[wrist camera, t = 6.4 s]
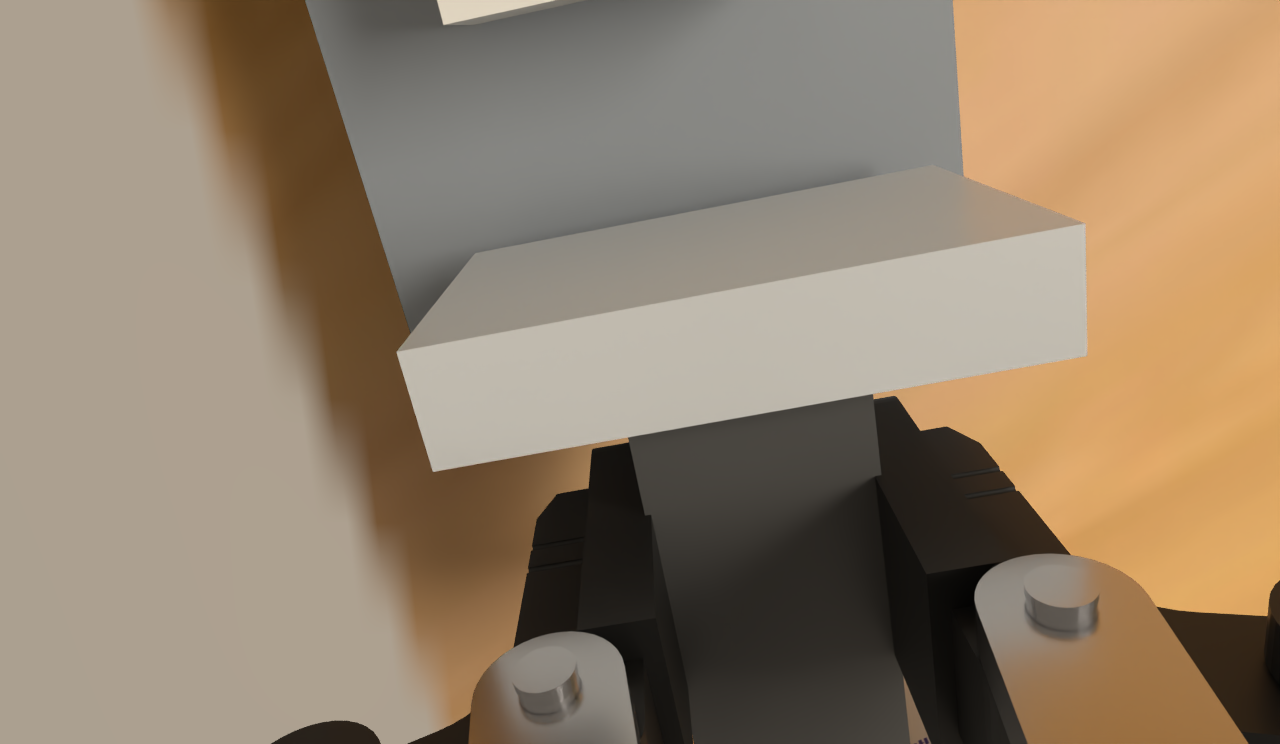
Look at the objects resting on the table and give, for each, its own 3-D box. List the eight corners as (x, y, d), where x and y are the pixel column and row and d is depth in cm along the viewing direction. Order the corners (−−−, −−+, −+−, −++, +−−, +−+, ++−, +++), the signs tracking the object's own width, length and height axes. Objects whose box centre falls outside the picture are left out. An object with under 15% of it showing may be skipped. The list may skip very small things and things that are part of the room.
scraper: (971, 681, 14) (1095, 914, 10) (602, 738, 14) (590, 984, 10) (932, 165, 11) (1085, 223, 7) (474, 253, 11) (396, 351, 8)
